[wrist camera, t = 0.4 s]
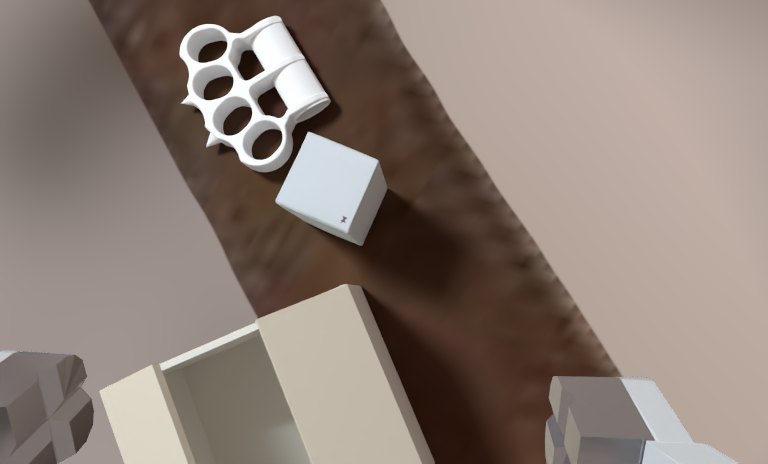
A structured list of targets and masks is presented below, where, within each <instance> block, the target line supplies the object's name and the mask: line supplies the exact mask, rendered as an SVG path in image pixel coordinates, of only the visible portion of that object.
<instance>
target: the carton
mask: <svg viewBox="0 0 768 464" xmlns="http://www.w3.org/2000/svg"><path fill="white" fill-rule="evenodd" d="M344 285H345V284H344ZM341 286H343V285H341ZM339 287H340V286H339ZM337 288H338V287H337ZM348 288H349V290H350V292H351V295H352V297H353V300H354V302H355V304H356V307H357V309H358V312H359V314H360V316H361V319H362V321H363V324H364V326H365V328H366V331H367V333H368V336H369V338H370V340H371V343H372V345H373V348H374V350H375V352H376V355H377V357H378V359H379V362H380V364H381V367H382V369H383V371H384V374H385V376H386V379H387V381H388V383H389V386H390V388H391V391H392V393H393V395H394V398H395V400H396V403H397V405H398V407H399V410H400V412H401V415H402V417H403V419H404V422H405V424H406V427H407V429H408V431H409V434H410V436H411V439H412V441H413V443H414V446H415V448H416V450H417V453H418V455H419V458H420V460H421V462H422V464H435V461H434V459H433V457H432V454H431V452H430V450H429V447H428V445H427V442H426V440H425V438H424V435H423V433H422V431H421V428H420V426H419V423H418V421H417V419H416V416H415V414H414V412H413V409H412V407H411V404H410V402H409V400H408V397H407V395H406V392H405V390H404V388H403V385H402V383H401V381H400V378H399V376H398V373H397V371H396V369H395V366H394V364H393V362H392V359H391V357H390V354H389V352H388V350H387V347H386V345H385V343H384V340H383V338H382V335H381V333H380V331H379V328H378V326H377V324H376V321H375V319H374V316H373V314H372V312H371V309H370V307H369V305H368V302H367V300H366V297H365V295H364V293H363V290H362V288H361V286H356V285H348ZM334 289H335V288H334ZM332 290H333V289H332ZM327 292H328V291H327ZM160 367H161V370H162V373H163V375H164V378H165V381H166V383H167V386H168V389H169V392H170V394H171V397H172V400H173V403H174V405H175V408H176V411H177V414H178V416H179V419H180V422H181V424H182V427H183V430H184V433H185V435H186V438H187V441H188V444H189V446H190V449H191V452H192V455H193V457H194V460H195V463H196V464H311V461H310V459H309V456H308V454H307V451H306V449H305V446H304V443H303V441H302V438H301V436H300V433H299V431H298V428H297V426H296V423H295V420H294V418H293V415H292V413H291V410H290V408H289V405H288V403H287V400H286V398H285V395H284V392H283V390H282V387H281V385H280V382H279V380H278V377H277V375H276V372H275V370H274V367H273V364H272V362H271V359H270V357H269V354H268V352H267V349H266V347H265V344H264V341H263V339H262V336H261V334H260V331H259V329H258V326H257V324H256V323H254V324H251V325H249V326H246V327H244V328H242V329H240V330H237V331H235V332H233V333H230V334H228V335H226V336H223V337H221V338H219V339H216V340H214V341H212V342H210V343H207V344H205V345H203V346H200V347H198V348H196V349H193V350H191V351H189V352H186V353H184V354H182V355H180V356H177V357H175V358H173V359H170V360H168V361H166V362H163V363H161V364H160Z"/></svg>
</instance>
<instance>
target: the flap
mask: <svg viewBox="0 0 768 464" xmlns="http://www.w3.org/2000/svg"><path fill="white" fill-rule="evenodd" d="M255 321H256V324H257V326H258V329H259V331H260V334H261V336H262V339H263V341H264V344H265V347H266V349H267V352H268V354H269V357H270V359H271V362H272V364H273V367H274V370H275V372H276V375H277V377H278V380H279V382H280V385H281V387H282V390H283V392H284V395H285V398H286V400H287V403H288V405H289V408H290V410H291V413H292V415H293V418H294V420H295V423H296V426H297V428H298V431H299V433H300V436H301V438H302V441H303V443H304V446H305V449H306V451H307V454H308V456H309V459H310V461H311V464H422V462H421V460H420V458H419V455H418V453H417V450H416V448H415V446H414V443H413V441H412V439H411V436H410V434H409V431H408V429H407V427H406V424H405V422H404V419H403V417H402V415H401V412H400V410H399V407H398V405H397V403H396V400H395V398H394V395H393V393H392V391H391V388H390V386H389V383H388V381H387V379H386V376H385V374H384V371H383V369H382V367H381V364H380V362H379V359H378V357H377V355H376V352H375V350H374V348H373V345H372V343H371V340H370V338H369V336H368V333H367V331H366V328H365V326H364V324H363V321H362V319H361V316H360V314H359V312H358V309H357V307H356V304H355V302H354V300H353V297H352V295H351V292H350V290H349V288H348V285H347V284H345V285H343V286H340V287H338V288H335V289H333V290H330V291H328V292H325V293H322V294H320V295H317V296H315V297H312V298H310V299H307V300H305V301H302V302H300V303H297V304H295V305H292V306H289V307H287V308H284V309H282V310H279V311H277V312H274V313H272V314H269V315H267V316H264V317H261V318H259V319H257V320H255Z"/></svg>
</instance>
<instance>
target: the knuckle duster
mask: <svg viewBox="0 0 768 464" xmlns="http://www.w3.org/2000/svg"><path fill="white" fill-rule="evenodd" d="M215 41H226V42H227V50H226V52H225V53H224V55H223V56H222V57H221V58H219V59H217V60H215V61H211V62H207V63H199V62H198V55H199V52H200V50H201V49H202V48H203V47H204V46H205V45H206V44H208V43H212V42H215ZM246 50H253V51H254V53H255V54H256V56H257V58H258V59H259V61H260V63H261V64H262V66H263V68H264V69H265V71H264V72H262V73H260V74H259V75H257V76H255V77H254V78H252V79H250V80H247V81H246V80H244V79H243V77H242V76H241V74H240V72H239V70H238V65H239V63H240V60H241V54H242V53H243V52H244V51H246ZM180 57H181V58H182V59H183V60H184V61H185V63H186V64H187V66H188V69H189V82H188V85H187V87H188V92H189V96H188V97H187V98H186V99H185V100H184V101H183V102H182V103H181V104H187V105H192V106H196V107H197V108H198V109H199V110H200V111H201V112H202V113H203V116H204V119H205V127H206V128H207V129H208V130H209V131H210V132H211V133H210V136H209V139H208V142H207V146H206V147H208V146H212V145H215V144H218V143H221V142H222V143H223V144H224V145H226V146H229V147H233V148H235V149H236V151H237V153H238V155H239V158H240V161H241V162H242V163H244V164H245V165H246V166H248V167H249V168H251V169H252V170H255V171H258V172H271V171H274V170H276V169H278V168H280V167H281V166H283V165H284V164H285V163H286V162H287V160H288V159H289V157H290V155H291V153H292V149H293V138H292V132H293V130H294V127H295V125H296V124H297V123H299V122H301V121H304V120H306V119H309V118H311V117H312V116H314V115H316V114H317V113H319V112H320V111H322V110H323V109H324V108H326V107H327V106H328V105H329V104H330V102H331V101H330V99H329V97H328V95H327V94H326V92H325V91H324V89H323V88H322V86H321V84H320V83H319V81H318V79H317V78H316V76H315V74H314V73H313V71H312V70H311V68H310V66H309V65H308V63H307V61H306V60H305V58H304V56H303V54H302V53H301V52H300V50H299V48H298V47H297V45H296V43H295V42H294V40H293V38H292V37H291V35H290V34H289V32H288V30H287V29H286V27H285V25H284V24H283V22H282V20H281V18H280V17H279V16H272V17H269V18H266V19H264V20H262V21H260V22H258V23H257V24H255V25H254V26H253V27H251V28H249V29H248V30H246V31H244V32H243V33H241V34H238V33H229V32H228V31H227V30H226V29H224V28H222V27H220V26H218V25H214V24H205V25H201V26H198V27H196V28H194V29H192V30H191V31H190V32H189V33H188V34H187V35H186V36H185V37H184V39H183V41H182V43H181V47H180ZM222 76H231V77H233V80H234V83H233V87H232V89H231V91H230V92H229V93H228V94H227V95H226V96H224V97H222V98H219V99H215V100H205V99H204V89H205V86H206V85H207V84H208V82H210V81H211V80H213V79H215V78H218V77H222ZM273 87H275V88H276V89H277V91H278V93H279V94H280V96H281V98H282V99H283V101H284V103H285V104H286V106H287V108H288V109H287V111H286V113H285V115H284V116H283V117H282V118H276V117H273V116H266V115H265V114H264V113H263V111H262V109H261V108H260V106H259V104H258V97H259V96H260V95H261V94H263V93H265V92H266V91H268V90H270V89H271V88H273ZM241 106H247V107H250V108H252V118H251V121H250V122H249V124H248V125H247V126H246V127H245V128H244V129H243V130H242V131H241V132H240V133H238V134H236V135H232V136H227V135H225V134H224V131H223V124H224V121H225V119H226V117H227V116H228V115H229V114H230V113H231V112H232V111H233V110H234V109H236V108H238V107H241ZM269 129H277V130H280V131H281V132H282V136H283V139H282V143H281V145H280V147H279V148H278V149H277V151H276V152H275V153H274V154H273V155H272V156H271V157H269V158H267V159H264V160H256V159H254V158H253V155H252V145H253V143H254V141H255V140H256V139H257V138H258V137H259V135H260V134H261V133H263V132H264V131H266V130H269Z"/></svg>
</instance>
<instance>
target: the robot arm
mask: <svg viewBox="0 0 768 464" xmlns="http://www.w3.org/2000/svg"><path fill="white" fill-rule="evenodd" d="M86 378H87V375H86V371H85V367H84V363H83V360H82V359H80V358H79V357H77V356H76V355H71V354H55V353H40V352H20V351H3V350H0V464H59V462H61V461H63V460H65V459H67V458H69V457H71V456H72V455H74V454H76V453H77V452H78V451H79V449H80V448H81V447H82V446H83V444H84V443H85V442H86V441H87V438H88V435H89V433H90V430H91V428H92V425H93V414H94V410H93V404H92V399H91V398H90V397H89V395H88V394H87V393H86V392H85V391H84V390H83V389H82V388H81V386H82V384H83V383H84V381H85V379H86ZM549 399H550V403H551V406H552V409H553V412H554V414H553V415H552V416H551V417H550V418H549V419H548V420H547V421H546V434H545V452H546V461H547V464H739V463H737V462H736V461H734V460H732V459H731V458H729V457H727V456H725V455H724V454H722V453H721V452H719V451H717V450H715V449H714V448H712V447H710V446H709V445H707V444H700V443H695V442H694V440H693V439H692V437H691V436H690V435H689V433H688V432H687V430H686V429H685V427H684V426H683V424H682V423H681V421H680V420H679V418H678V417H677V416H676V414H675V412H674V411H673V410H672V408H671V406H670V405H669V404H668V402H667V401H666V399H665V398H664V396H663V395H662V393H661V392H660V390H659V389H658V387H657V386H656V384H655V383H654V381H653V380H651V379H649V378H647V377H643V378H642V377H564V376H553V379H552V382H551V386H550V394H549Z"/></svg>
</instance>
